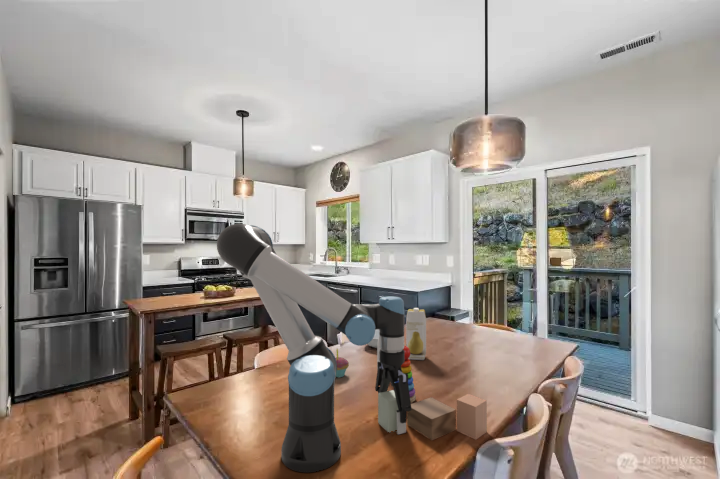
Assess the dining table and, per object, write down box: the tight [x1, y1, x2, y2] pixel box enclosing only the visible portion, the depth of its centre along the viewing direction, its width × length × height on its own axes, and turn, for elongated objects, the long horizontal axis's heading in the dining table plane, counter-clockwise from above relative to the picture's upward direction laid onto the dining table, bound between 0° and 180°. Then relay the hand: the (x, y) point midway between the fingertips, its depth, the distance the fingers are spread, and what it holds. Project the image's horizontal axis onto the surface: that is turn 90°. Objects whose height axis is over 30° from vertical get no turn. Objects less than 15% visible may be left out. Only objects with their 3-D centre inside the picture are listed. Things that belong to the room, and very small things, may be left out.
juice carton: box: [405, 307, 427, 361], centre depth 165 cm, size 9×8×24 cm
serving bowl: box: [367, 329, 380, 349], centre depth 184 cm, size 21×21×7 cm
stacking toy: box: [394, 345, 417, 404], centre depth 120 cm, size 8×8×19 cm
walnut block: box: [406, 396, 457, 441], centre depth 102 cm, size 10×10×6 cm
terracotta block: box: [456, 393, 488, 440], centre depth 99 cm, size 6×6×9 cm
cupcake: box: [335, 348, 350, 378], centre depth 143 cm, size 9×8×12 cm
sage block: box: [377, 389, 402, 433], centre depth 103 cm, size 6×6×9 cm
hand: (392, 424), depth 103 cm, fingers open, 9 cm apart
